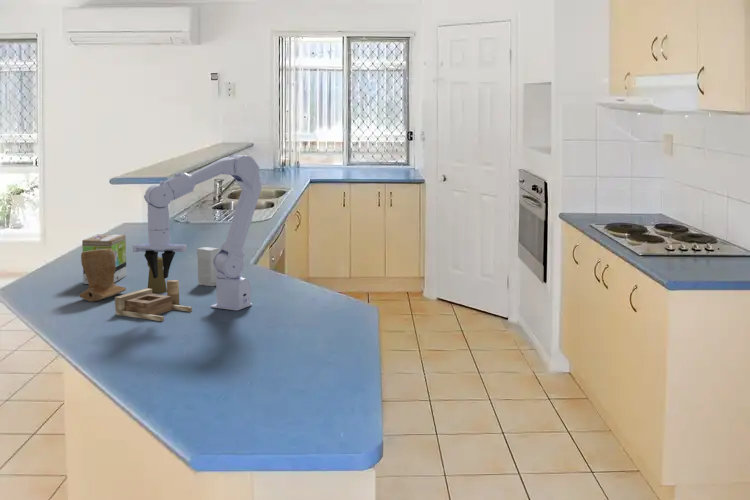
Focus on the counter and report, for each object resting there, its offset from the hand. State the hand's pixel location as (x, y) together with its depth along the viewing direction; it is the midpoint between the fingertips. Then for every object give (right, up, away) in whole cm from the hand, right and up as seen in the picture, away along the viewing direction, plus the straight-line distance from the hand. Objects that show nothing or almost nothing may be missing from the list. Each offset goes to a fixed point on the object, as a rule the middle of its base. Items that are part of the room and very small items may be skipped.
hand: (160, 277), depth 231 cm
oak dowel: (0, -8, +13) cm, 16 cm away
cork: (-9, -6, +30) cm, 32 cm away
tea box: (-31, -3, +47) cm, 56 cm away
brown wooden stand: (-24, -7, +22) cm, 33 cm away
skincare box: (+5, -4, +41) cm, 41 cm away
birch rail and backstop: (-3, -10, +3) cm, 11 cm away
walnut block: (-4, -10, +4) cm, 11 cm away
